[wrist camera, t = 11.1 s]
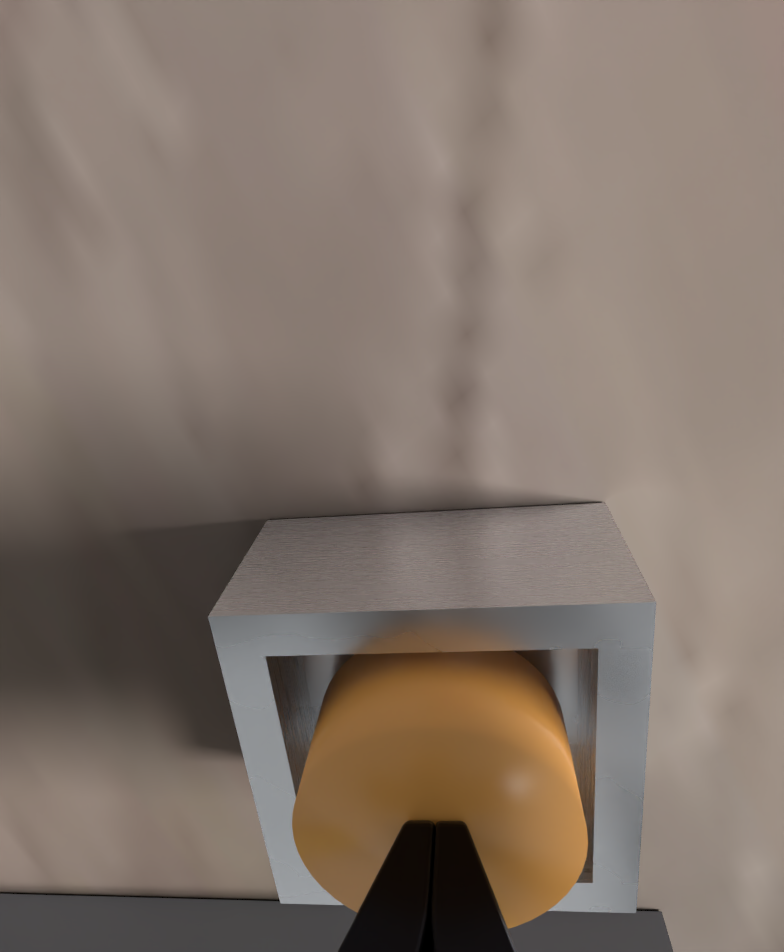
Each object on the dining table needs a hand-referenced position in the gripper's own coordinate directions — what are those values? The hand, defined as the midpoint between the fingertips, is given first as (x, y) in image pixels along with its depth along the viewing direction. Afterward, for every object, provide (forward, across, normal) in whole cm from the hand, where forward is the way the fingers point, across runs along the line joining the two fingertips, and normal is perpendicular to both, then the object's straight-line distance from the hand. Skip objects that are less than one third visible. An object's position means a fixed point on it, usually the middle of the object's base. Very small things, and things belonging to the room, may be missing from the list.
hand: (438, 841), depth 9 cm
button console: (+4, 0, 0) cm, 4 cm away
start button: (+2, 0, 0) cm, 2 cm away
